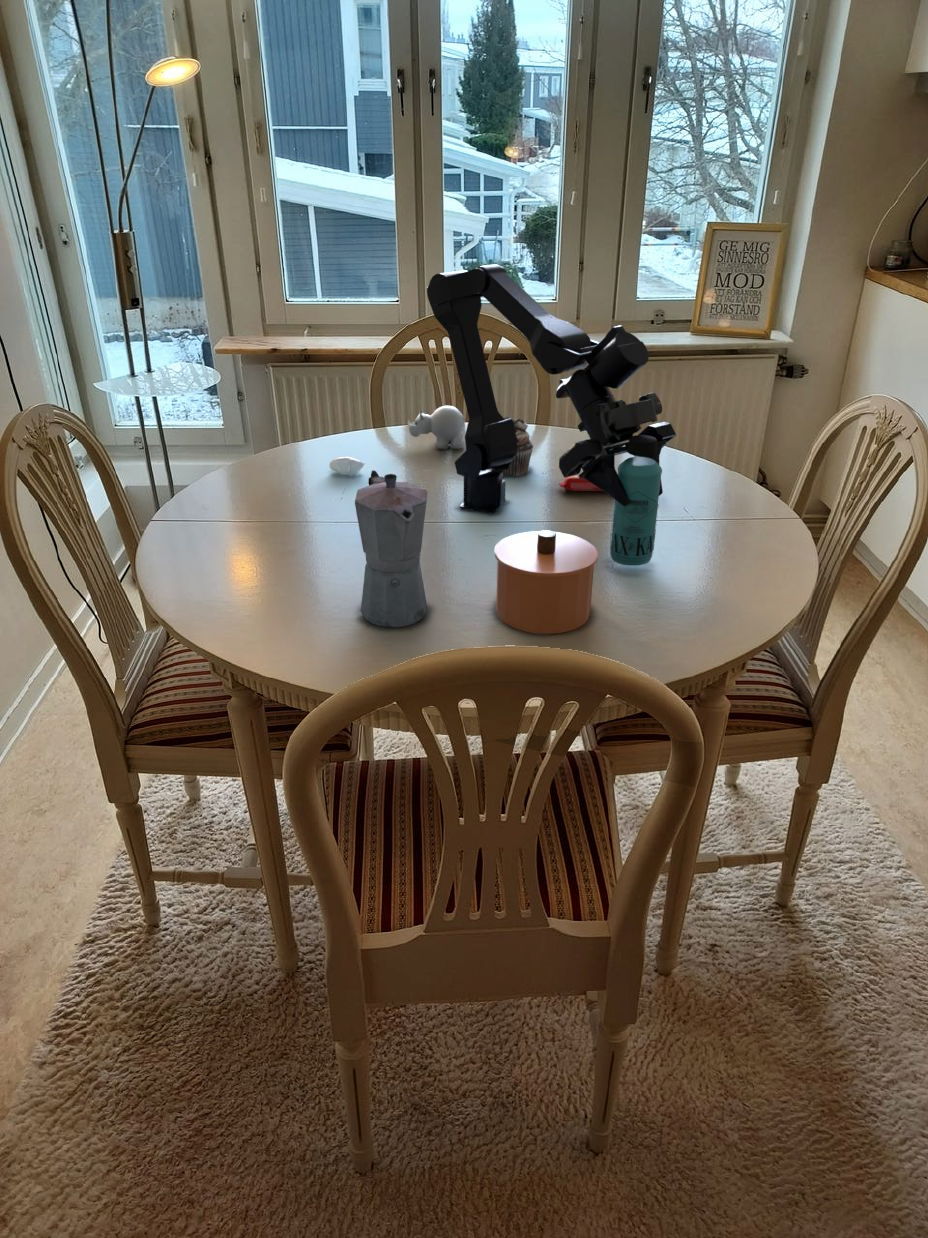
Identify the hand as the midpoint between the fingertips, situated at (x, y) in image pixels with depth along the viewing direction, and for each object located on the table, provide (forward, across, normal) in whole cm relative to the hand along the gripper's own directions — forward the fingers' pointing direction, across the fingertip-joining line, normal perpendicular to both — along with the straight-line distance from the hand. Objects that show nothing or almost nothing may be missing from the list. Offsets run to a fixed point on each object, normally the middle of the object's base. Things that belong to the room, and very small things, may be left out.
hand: (643, 499), depth 124 cm
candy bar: (-12, +19, +28) cm, 36 cm away
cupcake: (-26, +12, +42) cm, 50 cm away
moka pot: (+1, -37, +14) cm, 40 cm away
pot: (+9, -20, +6) cm, 23 cm away
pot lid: (+3, -20, 0) cm, 20 cm away
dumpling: (-36, -15, +52) cm, 66 cm away
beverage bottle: (+7, 0, +9) cm, 11 cm away
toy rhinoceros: (-40, +9, +56) cm, 70 cm away
